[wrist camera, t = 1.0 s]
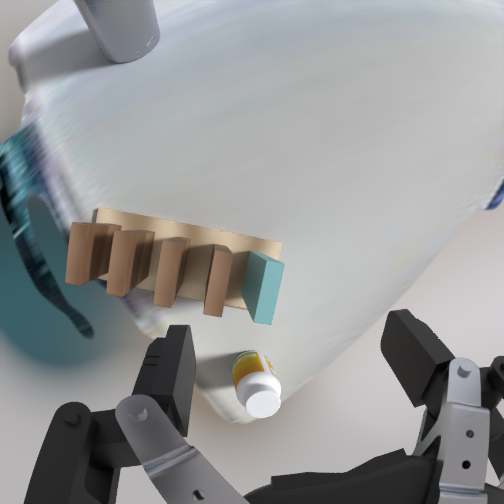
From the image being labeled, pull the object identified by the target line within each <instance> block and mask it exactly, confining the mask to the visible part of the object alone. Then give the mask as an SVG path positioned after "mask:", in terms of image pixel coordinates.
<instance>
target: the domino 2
mask: <svg viewBox="0 0 504 504" xmlns="http://www.w3.org/2000/svg"><path fill="white" fill-rule="evenodd" d="M154 237H155V232H152V231H147V230H125V231H114V237H113V243H112V250H111V257H110V264H109V272H108V281H107V291H106V293H107V294H111V295H115V296H119V297H123V296H125V295H126V294H127V293H128V292H129V291H131V290H132V289H133V288H134V287H136V286H137V285H138V284H139V283H141V282H142V281H143V280H144V279H146V278H147V277H148V274H149V267H150V261H151V255H152V249H153V243H154Z"/></svg>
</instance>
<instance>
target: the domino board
mask: <svg viewBox="0 0 504 504" xmlns="http://www.w3.org/2000/svg"><path fill="white" fill-rule="evenodd" d="M96 223H111V224H116V225H121V226H122V229H121V231H125V230H147V231H152V232H155V237H154V243H153V249H152V255H151V261H150V267H149V274H148V277H147V278H146V279H144V280H143V281H142V282H141V283H139V284H138V285H137V286H136V287H137V288H141V289H146V290H150V291H155V286H156V279H157V273H158V266H159V260H160V254H161V248H162V243H163V240H167V239H171V238H174V237H183V238H188V239H191V240H190V245H189V251H188V256H187V262H186V267H185V273H184V279H183V284H182V286H181V288H180V290H179V292H178V294H177V296H180V297H185V298H190V299H195V300H200V301H204V300H205V289H206V283H207V277H208V272H209V267H210V261H211V256H212V251H213V246H214V244H219V245H224V246H227V247H228V248H229V249H230V251H231V252H232V253H233V254H234V256H233V261H232V266H231V271H230V276H229V281H228V286H227V291H226V296H225V302H224V305H228V306H234V307H240V308H247V307H246V304H245V302H244V300H243V298H242V296H241V291H242V287H243V282H244V277H245V272H246V267H247V262H248V257H249V252H250V251H254V252H260V253H263V254H265V255H267V256H269V257H271V258H273V259H275V260H277V261H278V260H279V255H280V250H281V245H282V243H279V242H274V241H269V240H264V239H260V238H255V237H250V236H245V235H240V234H235V233H230V232H225V231H220V230H215V229H210V228H205V227H200V226H195V225H189V224H184V223H179V222H174V221H169V220H163V219H158V218H153V217H148V216H142V215H137V214H132V213H126V212H121V211H115V210H110V209H104V208H98V214H97V219H96ZM98 279H102V280H107V281H108V273H106V274H104V275H102V276H100V277H98Z"/></svg>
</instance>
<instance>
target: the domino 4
mask: <svg viewBox="0 0 504 504" xmlns="http://www.w3.org/2000/svg"><path fill="white" fill-rule="evenodd" d="M233 256H234V254H233V253H232V252H231V251H230V249H229V248H228V247H227V246H224V245H219V244H214V246H213V251H212V256H211V261H210V267H209V272H208V277H207V283H206V289H205V300H204V313H203V314H205V315H211V316H217V317H222V312H223V307H224V302H225V296H226V291H227V286H228V281H229V276H230V271H231V266H232V261H233Z"/></svg>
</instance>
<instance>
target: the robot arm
mask: <svg viewBox="0 0 504 504" xmlns="http://www.w3.org/2000/svg"><path fill="white" fill-rule="evenodd" d="M73 1H74V2H75V4H76V6H77V8H78V10H79V11H80V13H81V15H82V17H83V19H84V20H85V22H86V24H87V26H88V27H89V29H90V31H91V33H92V34H93V36H94V38H95V40H96V41H97V43H98V45H99V47H100V48H101V50H102V52H103V54H104V55H105V57H106V58H107V59H108V60H110V61H113V62H117V63H124V62H130V61H133V60H136V59H138V58H140V57H142V56H144V55H145V54H147V53H148V52H150V51H151V50H152V49H153V48H154V46H155V45H156V44H157V42H158V40H159V37H160V31H159V26H158V22H157V17H156V12H155V7H154V2H153V0H73ZM381 351H382V354H383V356H384V357H385V359H386V361H387V362H388V364H389V365H390V367H391V369H392V370H393V372H394V374H395V375H396V377H397V379H398V380H399V382H400V384H401V385H402V387H403V389H404V390H405V392H406V394H407V395H408V397H409V399H410V400H411V402H412V404H413V406H414V407H418V406H421V405H424V404H425V405H426V407H427V408H426V410H425V411H424V414H423V419H422V424H421V428H420V432H419V436H418V440H417V444H416V447H415V450H414V452H413V454H412V455H409V456H408V455H406V453H405V451H404V449H403V448H402V449H400V450H396V451H393V452H390V453H387V454H384V455H381V456H378V457H375V458H373V459H371V460H369V461H367V462H365V463H363V464H362V465H360V466H358V467H356V468H354V469H352V470H350V471H348V472H344V473H317V472H305V473H298V474H289V475H280V476H272V477H271V484H269V485H266V486H263V487H260V488H258V489H255V490H253V491H251V492H250V493H248V494H246V495H245V496H243V497H242V496H241V495H240V494H239V493H238V492H237V491H236V490H235V489H234V488H233V487H232V486H231V485H230V484H229V483H228V482H227V481H226V480H225V479H224V478H223V477H222V476H221V475H220V474H219V473H218V472H217V470H216V469H215V468H214V467H213V466H212V465H211V464H210V463H209V462H208V461H207V460H206V458H205V457H204V456H203V455H202V454H201V453H200V452H199V451H198V450H197V449H196V448H195V447H194V446H190V445H189V444H188V443H187V442H186V441H185V439H184V438H183V437H187V434H188V425H189V417H190V409H191V400H192V393H193V386H194V378H195V371H196V358H195V351H194V346H193V340H192V334H191V328H190V325H170V326H169V328H168V331H167V334H166V338H156V339H155V340H154V341H153V342H152V343H151V344H150V345H149V347H148V350H147V352H146V355H145V358H144V361H143V363H142V364H143V365H142V366H141V369H140V372H139V375H138V378H137V380H136V383H135V386H134V389H133V392H132V395H131V396H129V397H127V398H125V399H123V400H122V401H121V402H120V403H119V404H118V405H117V407H116V409H112V410H106V411H97V412H91V411H90V410H89V408H88V407H87V406H86V405H84V404H83V403H79V402H69V403H66V404H64V405H62V406H61V407H60V408H58V410H57V411H56V412H55V414H54V417H53V419H52V421H51V424H50V426H49V429H48V431H47V434H46V436H45V439H44V442H43V444H42V447H41V450H40V453H39V455H38V458H37V461H36V464H35V467H34V470H33V473H32V476H31V480H30V483H29V487H28V490H27V493H26V497H25V500H24V504H115V503H116V496H117V488H118V482H119V476H120V469H121V467H130V466H137V465H143V467H144V470H145V471H146V473H147V475H148V476H149V478H150V480H151V481H152V483H153V484H154V485H155V487H156V488H157V490H158V491H159V493H160V494H161V495H162V497H163V498H164V500H165V501H166V502H167V504H504V419H503V417H502V416H501V414H500V413H499V411H498V410H497V408H496V407H497V405H498V404H499V402H500V401H501V399H502V398H503V399H504V356H498V357H496V358H495V359H494V360H493V362H492V364H491V366H490V367H483V368H478V366H477V365H476V364H475V363H474V362H473V361H471V360H469V359H467V358H455V357H454V355H453V354H452V353H451V352H450V350H449V349H448V348H447V347H446V346H445V345H444V344H443V342H442V341H441V340H440V339H438V337H437V336H436V334H435V333H433V331H432V330H431V329H430V328H429V327H428V326H427V324H425V323H424V322H422V321H420V320H419V319H416V318H415V317H414V316H413V315H412V314H411V313H410V312H409V310H408V309H402V310H394V311H390V312H389V313H388V316H387V320H386V324H385V328H384V332H383V335H382V338H381ZM488 458H489V460H490V462H491V464H492V466H493V468H494V470H495V472H496V474H497V477H498V479H499V481H500V485H499V486H497V487H495V486H492V485H490V484H488V483H485V477H486V469H487V460H488Z"/></svg>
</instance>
